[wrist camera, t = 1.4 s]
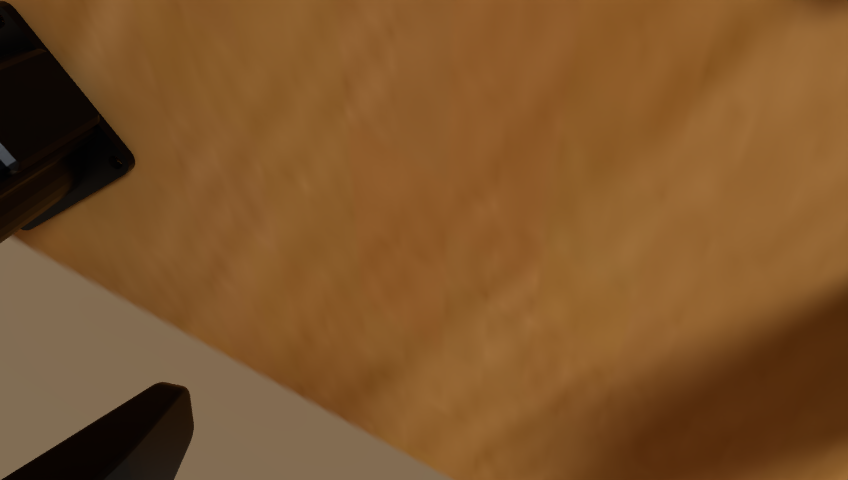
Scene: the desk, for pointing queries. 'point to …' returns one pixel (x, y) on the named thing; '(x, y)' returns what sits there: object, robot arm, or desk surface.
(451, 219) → the desk surface
